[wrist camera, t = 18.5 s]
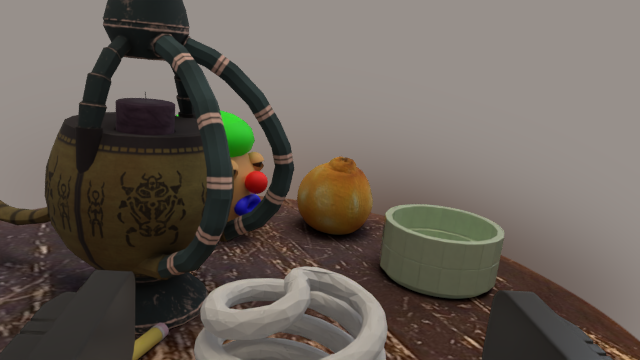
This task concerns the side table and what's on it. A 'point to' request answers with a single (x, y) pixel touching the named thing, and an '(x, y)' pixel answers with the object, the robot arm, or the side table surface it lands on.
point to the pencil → (149, 340)
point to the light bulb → (292, 319)
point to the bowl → (440, 250)
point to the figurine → (243, 166)
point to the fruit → (335, 197)
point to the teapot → (154, 167)
